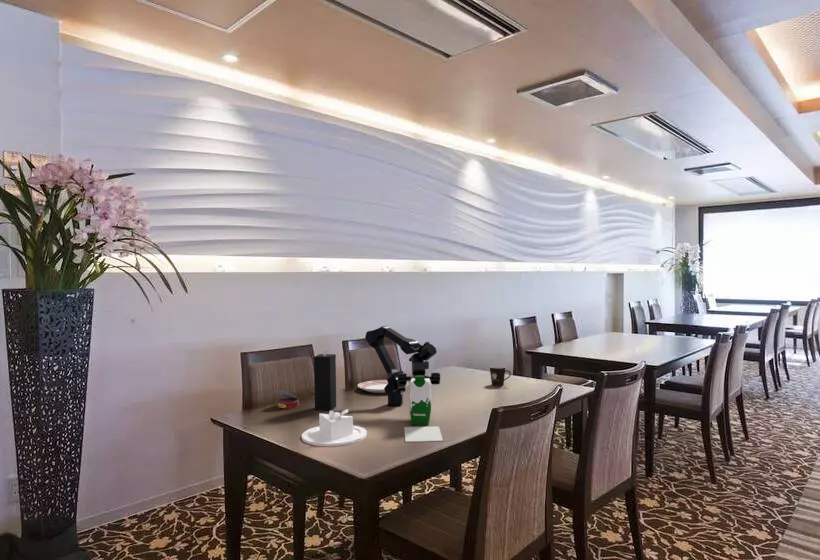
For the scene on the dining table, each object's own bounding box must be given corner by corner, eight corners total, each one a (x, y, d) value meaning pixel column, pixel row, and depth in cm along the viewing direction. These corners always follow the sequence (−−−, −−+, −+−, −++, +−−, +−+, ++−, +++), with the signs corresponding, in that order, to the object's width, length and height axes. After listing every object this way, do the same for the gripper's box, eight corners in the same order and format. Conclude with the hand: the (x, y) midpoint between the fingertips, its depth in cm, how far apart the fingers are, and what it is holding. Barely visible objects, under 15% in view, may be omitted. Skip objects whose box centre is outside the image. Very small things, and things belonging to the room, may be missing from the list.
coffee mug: (486, 384, 296) (486, 366, 296) (499, 382, 300) (499, 365, 300) (498, 388, 286) (498, 369, 286) (512, 386, 289) (511, 368, 289)
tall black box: (330, 410, 243) (329, 349, 243) (314, 410, 245) (313, 349, 245) (336, 406, 251) (335, 347, 251) (320, 406, 253) (319, 347, 252)
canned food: (277, 416, 253) (273, 396, 257) (298, 411, 258) (293, 391, 261) (281, 410, 244) (276, 389, 248) (302, 405, 249) (297, 384, 252)
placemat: (404, 427, 215) (404, 427, 215) (438, 427, 216) (438, 426, 216) (405, 442, 197) (405, 441, 197) (443, 441, 198) (442, 440, 198)
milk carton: (409, 425, 218) (408, 377, 218) (411, 419, 227) (410, 372, 227) (430, 425, 218) (430, 377, 217) (431, 419, 227) (431, 372, 226)
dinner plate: (352, 387, 295) (352, 381, 295) (398, 382, 305) (398, 377, 305) (365, 397, 269) (365, 391, 269) (416, 392, 279) (416, 386, 279)
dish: (379, 435, 207) (379, 406, 207) (330, 451, 189) (329, 420, 189) (338, 423, 224) (338, 397, 224) (288, 438, 205) (288, 408, 205)
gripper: (397, 355, 235) (398, 385, 224) (439, 354, 235) (442, 384, 225) (397, 369, 243) (398, 399, 232) (438, 369, 243) (440, 398, 233)
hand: (419, 395), depth 230 cm, fingers closed
